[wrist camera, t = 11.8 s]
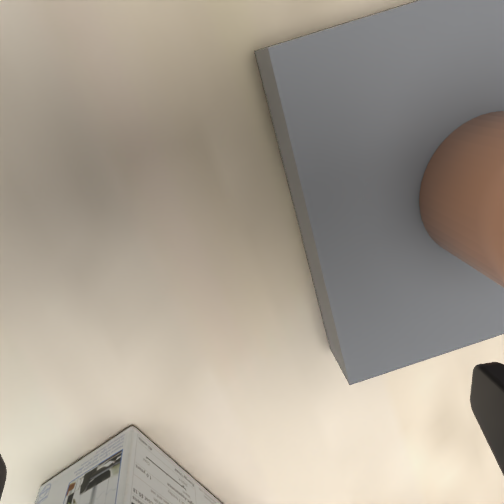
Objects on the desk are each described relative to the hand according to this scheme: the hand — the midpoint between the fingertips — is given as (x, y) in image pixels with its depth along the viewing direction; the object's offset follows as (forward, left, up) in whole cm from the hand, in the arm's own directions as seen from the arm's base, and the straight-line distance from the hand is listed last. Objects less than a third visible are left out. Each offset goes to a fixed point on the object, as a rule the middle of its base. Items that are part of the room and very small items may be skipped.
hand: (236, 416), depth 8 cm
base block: (+12, -2, -13) cm, 17 cm away
